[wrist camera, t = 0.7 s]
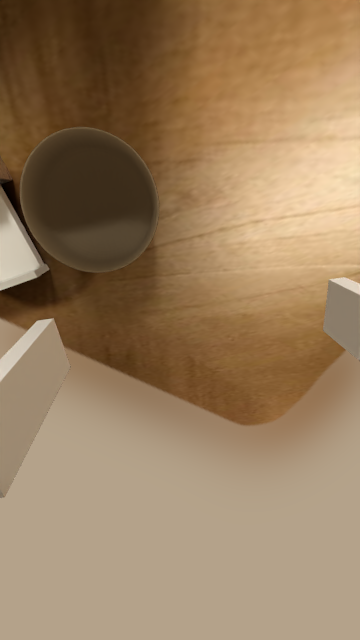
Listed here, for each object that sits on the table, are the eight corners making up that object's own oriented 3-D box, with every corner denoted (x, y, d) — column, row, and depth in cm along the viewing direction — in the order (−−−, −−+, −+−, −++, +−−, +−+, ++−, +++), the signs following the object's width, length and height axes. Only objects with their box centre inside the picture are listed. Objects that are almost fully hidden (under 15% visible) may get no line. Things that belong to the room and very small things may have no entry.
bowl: (179, 210, 35) (186, 215, 26) (109, 274, 38) (93, 298, 29) (107, 118, 31) (85, 85, 22) (33, 197, 34) (-13, 197, 24)
